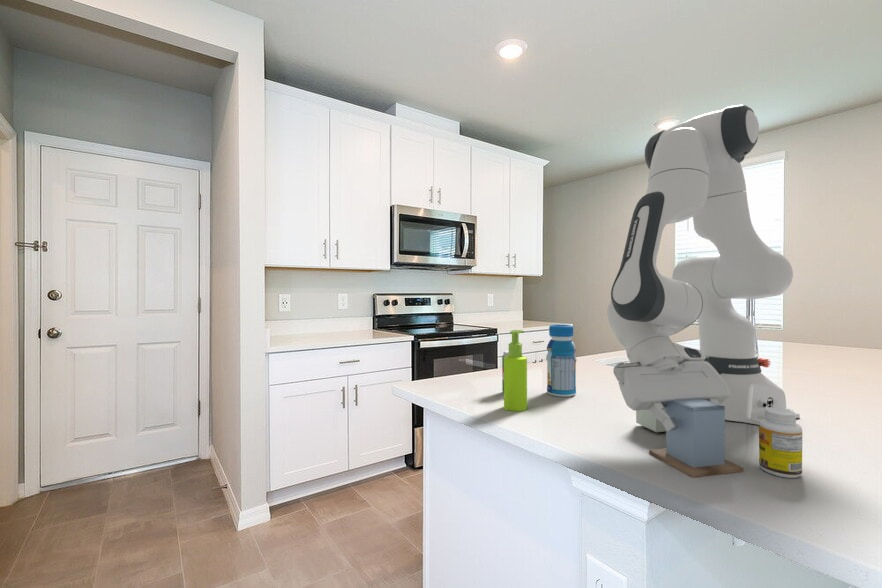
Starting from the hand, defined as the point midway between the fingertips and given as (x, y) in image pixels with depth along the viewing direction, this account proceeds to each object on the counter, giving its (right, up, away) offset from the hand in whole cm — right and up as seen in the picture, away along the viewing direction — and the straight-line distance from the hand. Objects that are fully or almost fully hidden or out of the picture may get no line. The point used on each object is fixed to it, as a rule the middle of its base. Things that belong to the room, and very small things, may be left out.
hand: (696, 427), depth 72 cm
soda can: (-24, -6, +49) cm, 55 cm away
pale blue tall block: (0, -6, +1) cm, 6 cm away
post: (0, -6, +1) cm, 6 cm away
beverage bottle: (-10, -6, +48) cm, 49 cm away
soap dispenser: (-25, -6, +34) cm, 43 cm away
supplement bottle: (+12, -7, -3) cm, 14 cm away
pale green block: (+3, -6, +18) cm, 19 cm away
